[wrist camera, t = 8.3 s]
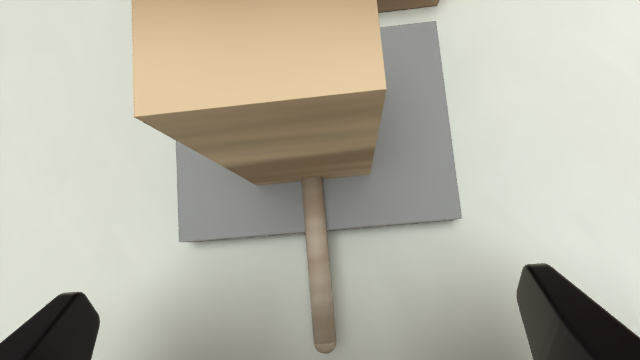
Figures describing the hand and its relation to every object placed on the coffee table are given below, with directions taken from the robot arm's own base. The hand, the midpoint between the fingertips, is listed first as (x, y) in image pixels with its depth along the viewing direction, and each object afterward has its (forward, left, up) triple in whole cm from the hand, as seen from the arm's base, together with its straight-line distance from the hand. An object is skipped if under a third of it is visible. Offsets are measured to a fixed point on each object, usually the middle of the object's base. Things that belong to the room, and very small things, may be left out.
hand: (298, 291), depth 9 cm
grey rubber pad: (+5, 0, -9) cm, 11 cm away
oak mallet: (+2, 0, -8) cm, 8 cm away
